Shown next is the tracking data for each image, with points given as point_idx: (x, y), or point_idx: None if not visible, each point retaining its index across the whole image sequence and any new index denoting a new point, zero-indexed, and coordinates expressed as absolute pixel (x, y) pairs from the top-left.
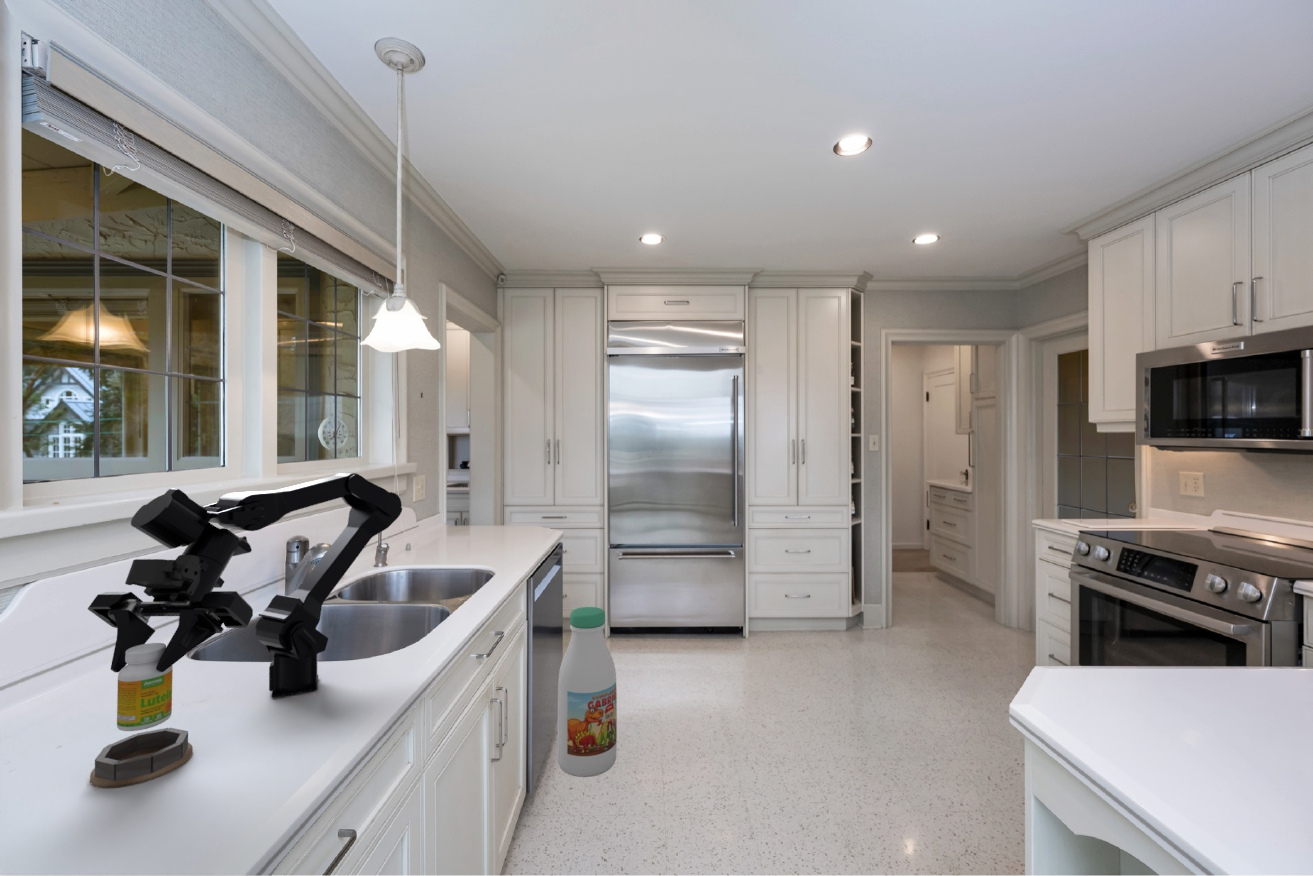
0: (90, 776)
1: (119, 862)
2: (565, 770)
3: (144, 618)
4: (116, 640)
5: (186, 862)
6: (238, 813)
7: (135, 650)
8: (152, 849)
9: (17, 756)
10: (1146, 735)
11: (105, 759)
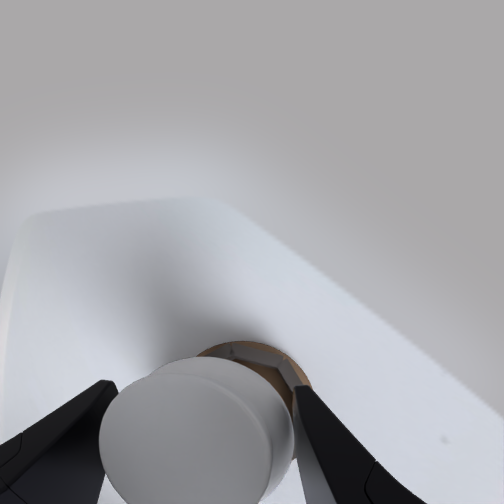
0: (291, 359)
1: (110, 206)
2: None
3: None
4: (383, 469)
5: (59, 212)
6: (42, 280)
7: (198, 417)
8: (91, 224)
9: (472, 401)
10: None
11: (266, 359)
